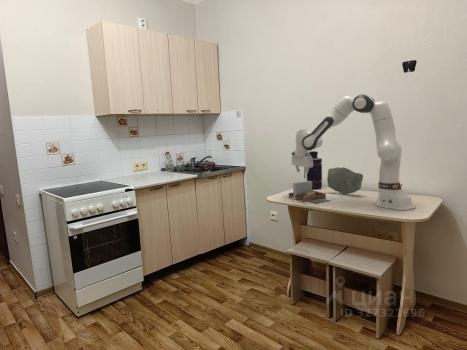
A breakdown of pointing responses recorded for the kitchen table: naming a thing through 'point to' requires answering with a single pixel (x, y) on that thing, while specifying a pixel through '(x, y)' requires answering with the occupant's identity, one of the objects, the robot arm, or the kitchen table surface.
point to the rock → (344, 180)
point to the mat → (319, 201)
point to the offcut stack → (308, 194)
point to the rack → (317, 196)
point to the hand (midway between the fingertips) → (302, 172)
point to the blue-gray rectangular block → (302, 188)
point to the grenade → (315, 171)
